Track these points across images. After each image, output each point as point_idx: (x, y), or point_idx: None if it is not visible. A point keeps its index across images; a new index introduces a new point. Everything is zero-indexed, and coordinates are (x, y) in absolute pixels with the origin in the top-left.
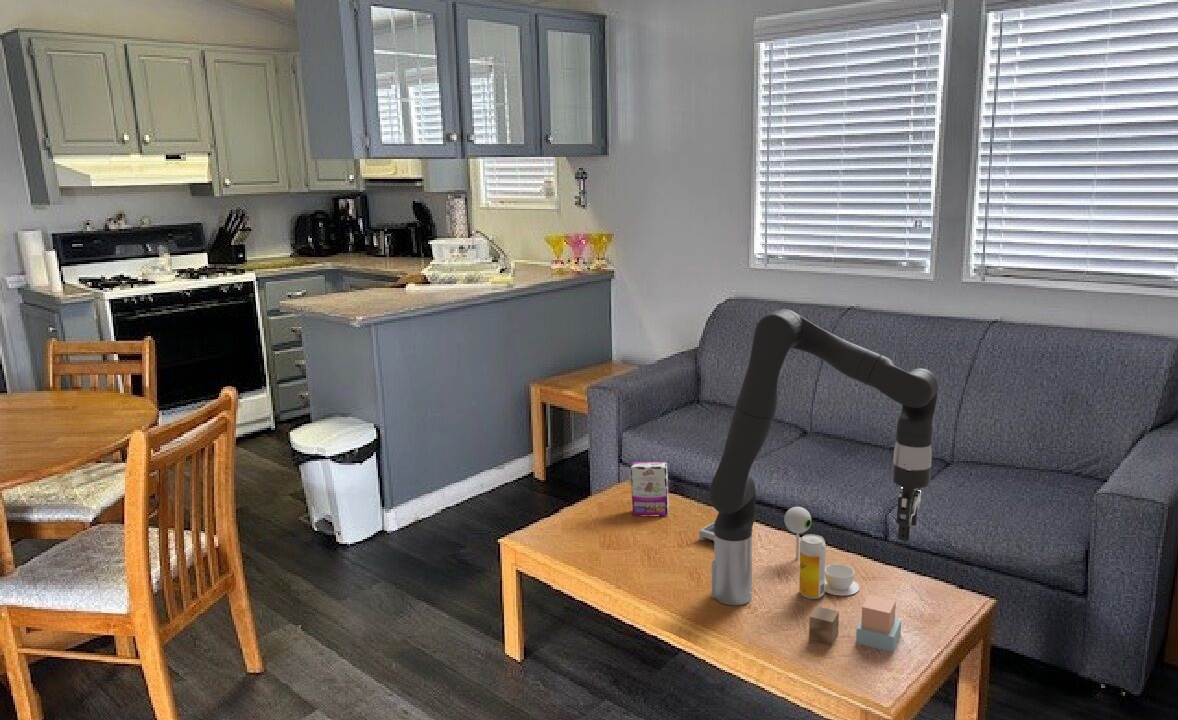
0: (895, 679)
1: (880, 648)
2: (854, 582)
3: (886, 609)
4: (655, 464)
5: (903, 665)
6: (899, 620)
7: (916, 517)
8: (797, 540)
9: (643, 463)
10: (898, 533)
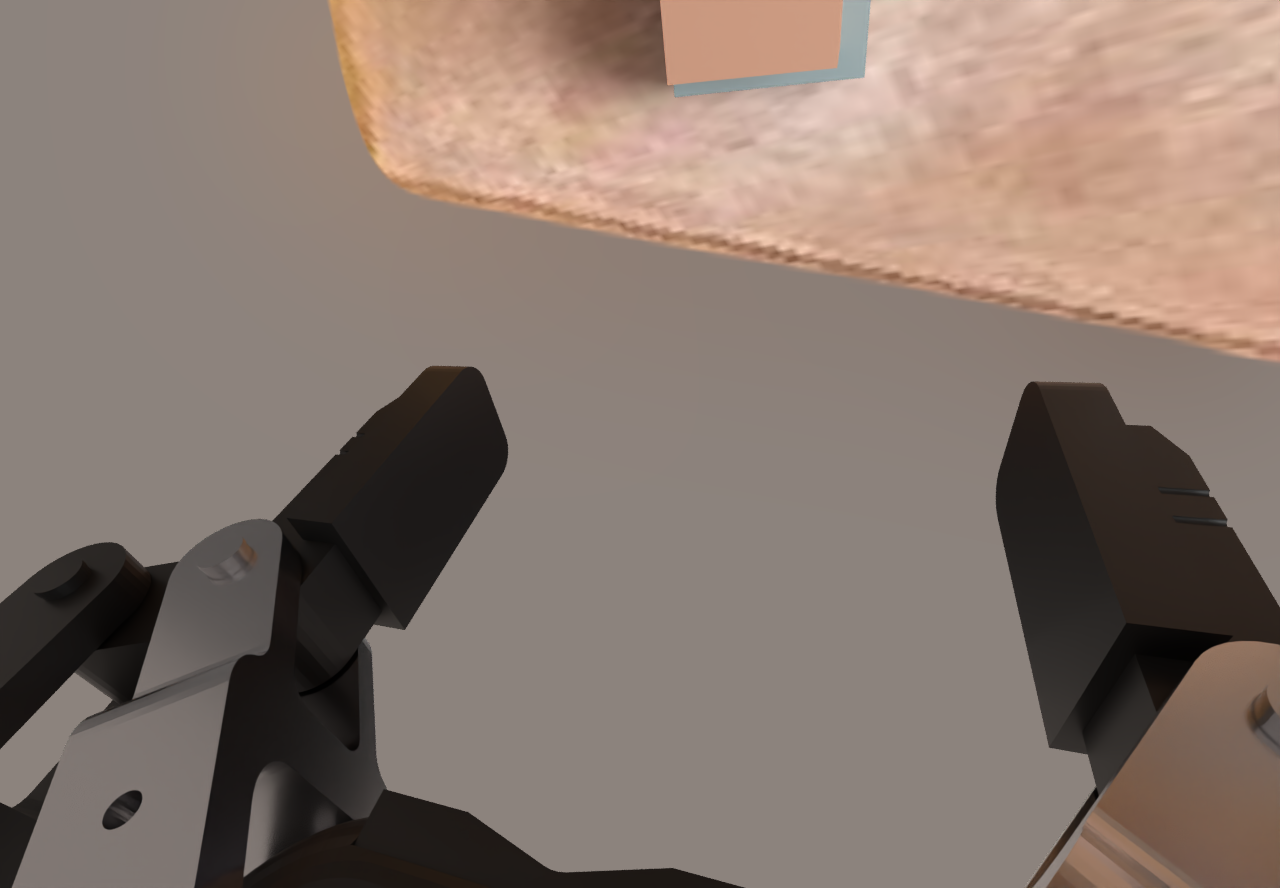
0: (523, 150)
1: None
2: None
3: (700, 49)
4: None
5: (622, 151)
6: (853, 70)
7: (1025, 609)
8: None
9: None
10: (396, 405)
